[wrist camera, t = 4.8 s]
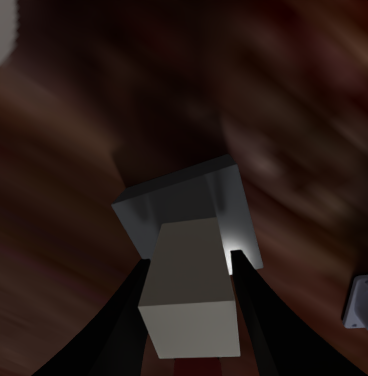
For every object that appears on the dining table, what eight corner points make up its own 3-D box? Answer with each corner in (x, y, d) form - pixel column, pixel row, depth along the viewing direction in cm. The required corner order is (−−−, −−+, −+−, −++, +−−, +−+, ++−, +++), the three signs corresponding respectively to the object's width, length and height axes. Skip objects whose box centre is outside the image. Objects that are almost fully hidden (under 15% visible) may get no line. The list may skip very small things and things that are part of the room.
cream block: (216, 217, 12) (234, 300, 7) (221, 259, 14) (240, 356, 8) (162, 223, 13) (137, 306, 7) (172, 264, 14) (159, 358, 9)
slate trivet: (228, 153, 14) (237, 164, 11) (252, 242, 17) (263, 267, 14) (125, 188, 15) (111, 204, 12) (165, 263, 18) (160, 289, 16)
